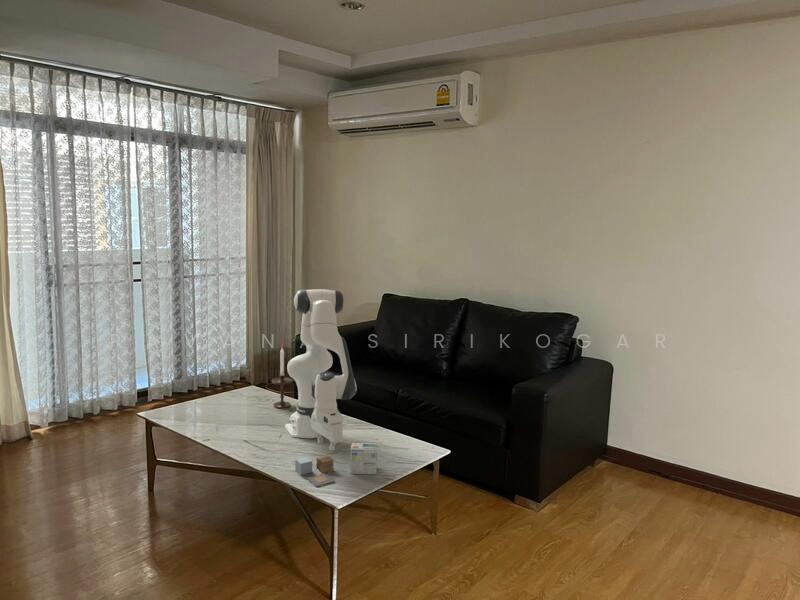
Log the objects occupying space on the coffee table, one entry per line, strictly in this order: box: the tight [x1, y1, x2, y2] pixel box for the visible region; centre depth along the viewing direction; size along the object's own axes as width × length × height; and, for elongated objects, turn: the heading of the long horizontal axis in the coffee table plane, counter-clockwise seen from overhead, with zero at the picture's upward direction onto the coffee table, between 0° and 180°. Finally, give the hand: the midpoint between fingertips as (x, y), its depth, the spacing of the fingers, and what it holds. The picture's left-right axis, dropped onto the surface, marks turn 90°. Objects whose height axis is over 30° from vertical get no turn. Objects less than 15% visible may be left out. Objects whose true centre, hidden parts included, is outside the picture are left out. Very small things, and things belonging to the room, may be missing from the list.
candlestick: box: [271, 342, 293, 410], centre depth 310 cm, size 11×11×35 cm
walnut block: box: [316, 454, 334, 474], centre depth 236 cm, size 5×5×5 cm
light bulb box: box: [350, 442, 378, 475], centre depth 236 cm, size 11×7×11 cm, turn 92°
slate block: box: [294, 456, 313, 476], centre depth 234 cm, size 5×5×5 cm
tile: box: [306, 473, 336, 488], centre depth 227 cm, size 8×8×1 cm
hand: (326, 446), depth 235 cm, fingers open, 8 cm apart
